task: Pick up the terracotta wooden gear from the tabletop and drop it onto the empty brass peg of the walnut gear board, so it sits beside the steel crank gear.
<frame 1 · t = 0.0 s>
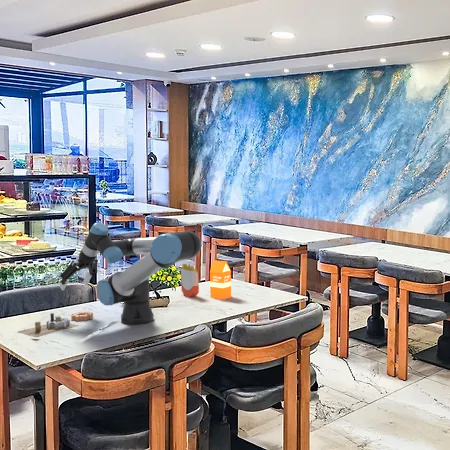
hand: (73, 286, 274), 15 cm above the table, tool tilted 35°, fingers open, 13 cm apart
french fries container: (190, 296, 320), on the table
sundae: (125, 303, 306), on the table
orange juice: (220, 297, 316), on the table
loose gear: (82, 321, 268), on the table
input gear: (58, 326, 255), resting on gear board
gear board: (48, 332, 251), on the table
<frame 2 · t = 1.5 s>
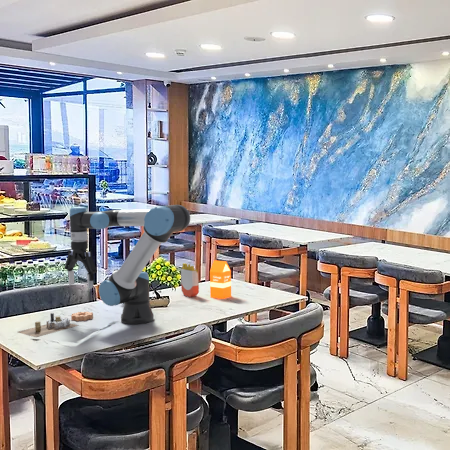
hand: (80, 286, 267), 17 cm above the table, tool pointing down, fingers open, 13 cm apart
nothing on the table moved.
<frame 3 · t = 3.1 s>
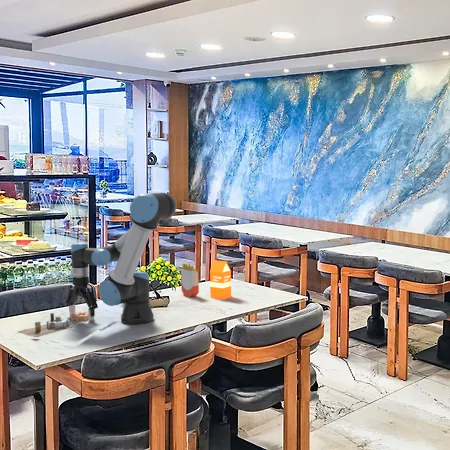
hand: (82, 321, 269), 0 cm above the table, tool pointing down, fingers open, 13 cm apart
nothing on the table moved.
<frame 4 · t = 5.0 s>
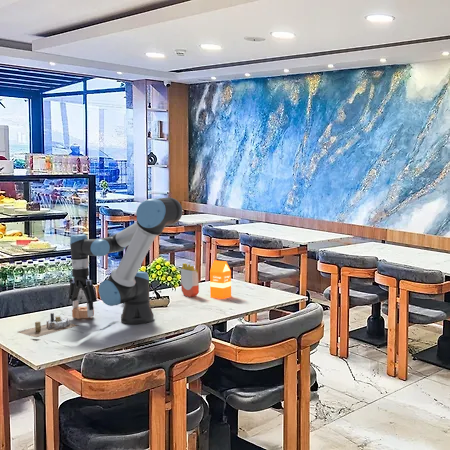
hand: (83, 315, 268), 3 cm above the table, tool pointing down, fingers closed on loose gear, 10 cm apart
loose gear: (83, 316, 268), point 3 cm above the table, touching gripper
everything else where it was.
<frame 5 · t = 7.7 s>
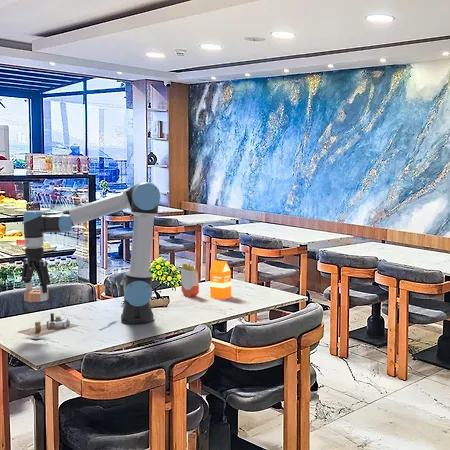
hand: (36, 299, 246), 16 cm above the table, tool pointing down, fingers closed on loose gear, 10 cm apart
loose gear: (36, 299, 246), point 15 cm above the table, touching gripper
everything else where it was.
when the fingers open (6 cm above the table, at t = 10.3 s): loose gear drops 4 cm, resting on gear board.
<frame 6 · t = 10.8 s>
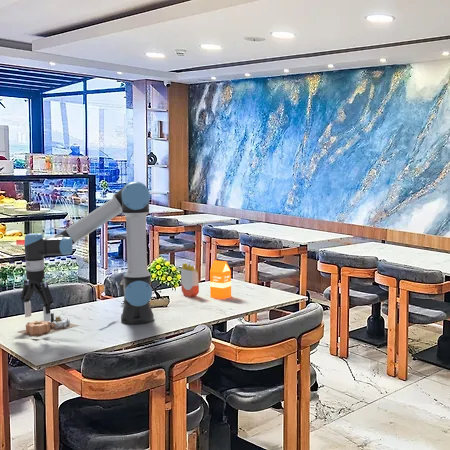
hand: (37, 318, 247), 7 cm above the table, tool pointing down, fingers open, 13 cm apart
loose gear: (38, 331, 247), point 1 cm above the table, touching gear board
everything else where it was.
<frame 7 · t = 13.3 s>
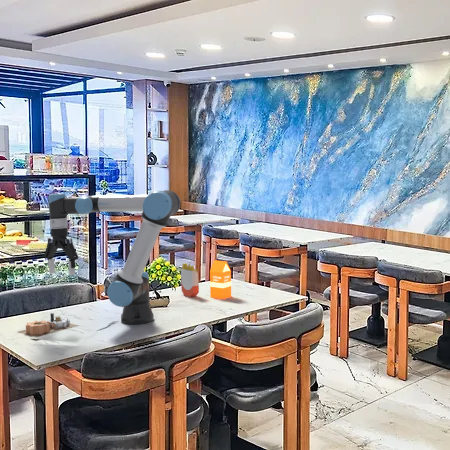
hand: (62, 274, 261), 23 cm above the table, tool pointing down, fingers open, 13 cm apart
nothing on the table moved.
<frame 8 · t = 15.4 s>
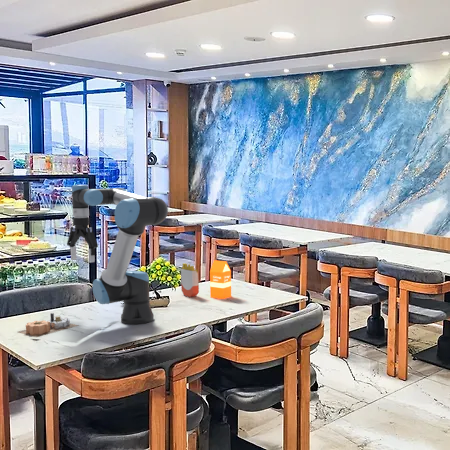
hand: (82, 261, 277), 27 cm above the table, tool pointing down, fingers open, 13 cm apart
nothing on the table moved.
at the end: loose gear 0.1 cm from the target spot on the gear board, point 1.5 cm above the gear board's base; loose gear tilted 0°; the gripper is holding nothing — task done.
